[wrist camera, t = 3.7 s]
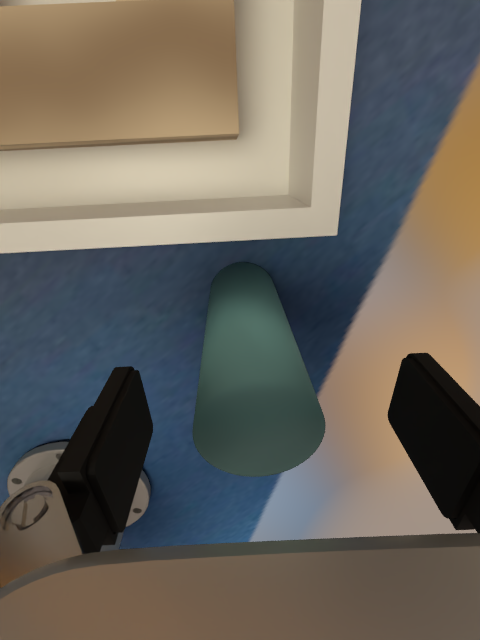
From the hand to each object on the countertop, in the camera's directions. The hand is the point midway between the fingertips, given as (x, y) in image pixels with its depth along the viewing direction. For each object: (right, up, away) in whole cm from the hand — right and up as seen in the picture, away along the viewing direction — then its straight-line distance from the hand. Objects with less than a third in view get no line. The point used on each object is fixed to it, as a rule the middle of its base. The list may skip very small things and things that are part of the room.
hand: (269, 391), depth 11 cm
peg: (-1, +4, +10) cm, 11 cm away
